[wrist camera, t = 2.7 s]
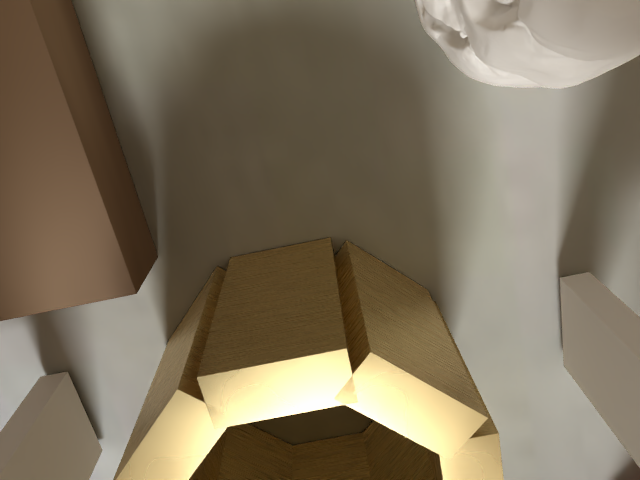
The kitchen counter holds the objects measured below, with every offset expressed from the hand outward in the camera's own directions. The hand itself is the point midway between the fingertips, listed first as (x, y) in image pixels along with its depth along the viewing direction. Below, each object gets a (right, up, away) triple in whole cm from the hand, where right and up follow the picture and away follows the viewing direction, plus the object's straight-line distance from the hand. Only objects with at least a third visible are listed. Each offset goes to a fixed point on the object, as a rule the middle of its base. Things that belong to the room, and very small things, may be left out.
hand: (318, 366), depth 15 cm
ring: (0, 0, 0) cm, 0 cm away
